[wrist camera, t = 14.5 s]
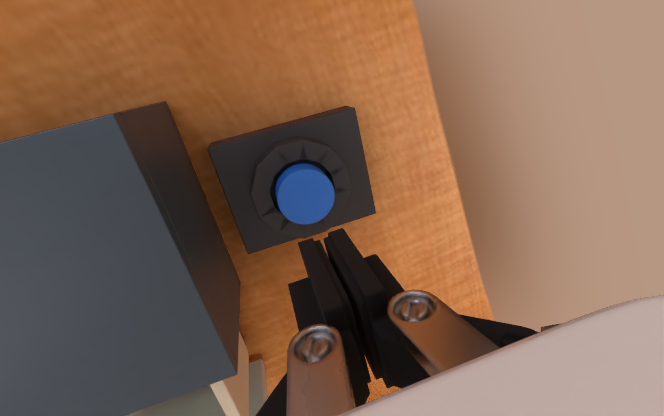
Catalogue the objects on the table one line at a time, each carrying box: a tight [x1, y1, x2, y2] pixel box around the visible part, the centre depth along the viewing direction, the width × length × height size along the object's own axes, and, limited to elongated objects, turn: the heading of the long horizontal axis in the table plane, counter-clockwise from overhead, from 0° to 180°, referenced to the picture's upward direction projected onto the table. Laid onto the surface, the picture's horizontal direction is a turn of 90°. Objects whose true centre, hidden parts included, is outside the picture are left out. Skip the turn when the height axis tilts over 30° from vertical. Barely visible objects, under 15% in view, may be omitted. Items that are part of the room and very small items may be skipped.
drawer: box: [126, 332, 267, 416], centre depth 24 cm, size 19×11×8 cm, turn 14°
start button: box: [275, 163, 335, 224], centre depth 22 cm, size 4×4×2 cm
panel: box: [208, 106, 376, 254], centre depth 24 cm, size 10×8×4 cm
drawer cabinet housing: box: [0, 101, 240, 416], centre depth 20 cm, size 15×13×10 cm
